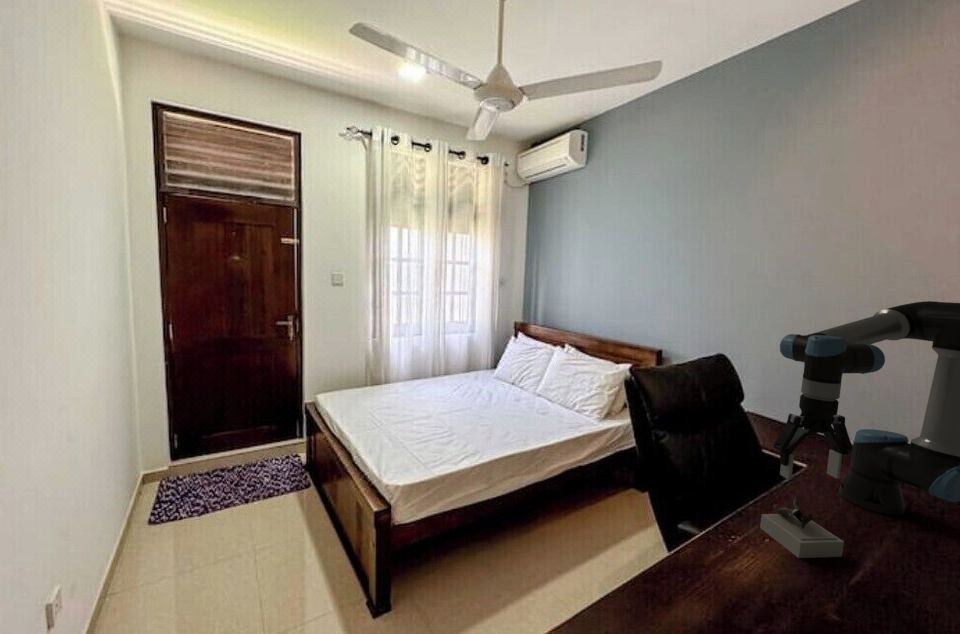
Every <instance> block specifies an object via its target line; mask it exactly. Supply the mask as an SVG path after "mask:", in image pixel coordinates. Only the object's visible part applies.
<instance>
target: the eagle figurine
mask: <svg viewBox="0 0 960 634" xmlns="http://www.w3.org/2000/svg"><path fill="white" fill-rule="evenodd" d="M798 496H799V493H798V492H796V494H795V497H794V498H793V501H792V503H793V507H794V508H792V509H791V508H788V507H781V508H778V509H776V510H775V511H776V512H778V513H780V514H785V515H788V514H790V516H792V515H794V516H795V517H796V518H797V519H798V520H799V521H800V522H801V523H802V529H804V526H806V524H807V523H808V522H810V521H811V520H812V521H813V520H815V519H819V518H821V516H822V514H818V515H815V516H813V514H812V512H811V511H809V513H808V514H807V516H806V515H805V514H804V513H803V512H802V511H801V510H800V507H801V506H800V502H799V500H798Z"/></svg>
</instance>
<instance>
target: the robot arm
mask: <svg viewBox="0 0 960 634" xmlns="http://www.w3.org/2000/svg"><path fill="white" fill-rule="evenodd" d="M902 339H904V340H905V339H907V340H908V339H909V340H911V339H912V340H917V341H918V340H920V341H927V342H931V343H932V345H931V349H932V350H933V351H934V352H935V353H936V354H937V358H936V364H935V368H934V372H933V377H932V380H931V381H932V382H931V384H930V385H931V387H930V390H929V395H928V399H927V400H928V401H927V402H926V403H927V404H926V407H925V408H926V409H925V414H924V418H923V423H922V426H921V430H920V435H919V436H918V437H916V438H912V439H911V440H910V443H909V438H908V436H906V435H904V434H902V433H897V432H894V431H888V430H882V429H880V430H879V429H874V428H873V429H872V428H871V429H869V428H866V429H865V428H864V429H863V428H862V429H859V430H857V431H856V432H855V435H854V438H853V440H852V442H853V444H852V442H851V438H850V436H849V432H848V429H847V426H846V417H845V416H843V415H841V414H838V410H839V404H840V403H839V399H840V396H841V388H842V379H843V374H862V375H864V374H869V373H870V374H871V373H876V372H878V371H880V370H881V369H882V368H883V367H884V365H885V364H886V363H885V362H886V357H885V356H886V355H885V354H884V352H883V351H882V349H880V348H879V347H878V346H877V345H875V344H876V343H879V342H883V341H886V340H887V341H900V340H902ZM779 351H780V354H781V355H782V356H783V357H784V358H786V359H788V360H793V361H794V362H800V363H804V364H803V365H804V366H803V374H802V379H801V389H800V392H801V393H802V394H801V395H800V396H799V402H798V403H799V404H798V405H799V406H798V407H799V409H800V410H801V413H800V415H796V414H793V413H789V414H788V417H787V419H786V420H787V421H786V424H785V425H784V427H783V428H782V430H781V431H780V433H779V435H778V436H777V438H776V440H775V442H774V444H773V448H774V449H775V450H777V451H779V452H780V453H779V454H780V455H779V464H780V469H779V470H780V471H779V475H780V476H782V477H783V478H785V479H787V480H788V481H789V480H790V481H791V480H792V477H793V469H794V468H793V467H794V460H795V454H793V452H794V451H795V450H796V449H797V448H798V447H799V445H800V444H802V442H803V441H804V440H805V439H806V438H807V437H809V436H811V435H812V434H814V435H815V434H823V436H824V438H825V439H826V440H827V442H828V444H830V446H831V448H832V449H829V451H828V459H827V469H826V475H829V476H831V477H833V478H834V479H837V480H838V479H840V475H841V468H842V464H843V462H844V455H845V456H848V455H849V454H850V452H851V458H850V465H849V470H848V473H847V475H846V476H845V477H844V479H843V480H842V482H841V483H840V484H839V488H838V489H839V490H838V493H839V495H840V496H841V497H842V499H845V501H847V502H850V503H851V504H853V505H856V506H858V507H861V508H864V509H866V510H869V511H872V512H874V513H879V514H882V515H883V514H884V515H889V516H890V515H891V516H902V515H904V514H905V511H906V503H905V502H904V501H905V500H904V496H903V491H902V489H901V484H902V483H903V484H905V485H908V486H910V487H913V488H915V489H917V490H920V491H922V492H924V493H927V494H929V495H931V496H933V497H937V498H940V499H942V500H945V501H947V502H953V503H957V502H960V302H951V301H949V302H947V301H946V302H945V301H933V300H932V301H931V300H930V301H929V300H927V301H925V300H924V301H918V302H917V301H916V302H911V303H910V302H909V303H906V304H899V305H896V306H892V307H889V308H884V309H881V310H879V311H877V312H875V313H874V314H873V316H869V317H866V318H862V319H859V320H855V321H851V322H849V323H844V324H841V325H838V326H833V327H831V328H828V329H824V330H820V331H818V332H817V331H816V332H813V333H810V334H805V335H802V334H799V333H796V334H794V333H791V334H787V335H785V336H784V337H783V338H782V339H781V341H780V344H779Z"/></svg>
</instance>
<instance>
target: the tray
mask: <svg viewBox="0 0 960 634" xmlns="http://www.w3.org/2000/svg"><path fill="white" fill-rule="evenodd" d="M760 516H761V518H760V524H759V525H760V526H759V528H760V529H761V530H762V531H763V532H764V533H766V534H767V535H769V536H770V538H772V539H774V540H775V541H776V542H777V543H778V544H780V545H782V546H783V547H784V548H785V549H786V550H787V551H789V552H790V553H791V554H793V555H794V556H795V557H796V558H797V559H807V558H809V559H810V558H812V559H814V558H842V557H843V552H844V551H843V550H844V545H845V541H844V540H843V539H841V538H839V537H838V536H836V535H835V534H833V533H831V532H830V531H828V530H827V529H825V528H824V527H822V526H821V525H819V524H818V523H816V522H814V521H813V520H811V521H810V522H808V523H807V524H806V526H804V529H802V523H801V522H800V521H799V520H798V519H797V518H796V517H795V516H794V515H792V516H790V514H788V515H785V514H782V513H761V515H760Z"/></svg>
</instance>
